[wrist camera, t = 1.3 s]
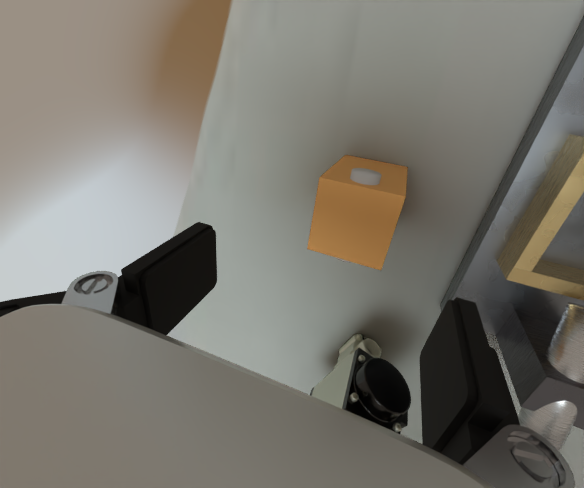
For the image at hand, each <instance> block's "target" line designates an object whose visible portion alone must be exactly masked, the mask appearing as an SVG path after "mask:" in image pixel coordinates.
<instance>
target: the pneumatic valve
mask: <svg viewBox="0 0 584 488" xmlns="http://www.w3.org/2000/svg"><path fill="white" fill-rule="evenodd" d="M362 338H363V337H362V335H361V334H355V335H354V336H353V337H352V338H351V339H350V340H348V341H347V342H346V343H345V344H344V345H343V346H342V347H341V348H340V349H339V354H340V356H339V357H338V362H337V364H336V365H335V366H334V370H333V371H332V372H331V373H329V374H328V375H327V376H326V377H325V378H324V379H323V380H322V381H320V382H319V383H318V384H317V385H316V386H315V387H314V388H313V389H312V390H311V393H310V396H313V397H315V398H317V399H320V400H322V401H325V402H327V403H329V404H332V405H334V406H336V407H339V408H341V409H343V410H346V411H348V412H350V413H353V414H355V415H358V416H360V417H362V418H365V419H367V420H369V421H371V422H374V423H376V424H378V425H380V426H383V427H385V428H387V429H389V430H392V431H394V432H396V433H398V434H400V431H401V428H403V427H405V426H407V421H408V409H409V407H410V404H411V396H410V391H409V388H408V385H407V383H406V381H405V379H404V378H403V376H402V375H401V373H400V372H399V371H398V370H397V369H396V368H395V367H394V366H393V365H392V364H391V363H389V362H388V361H386V360H384V359H381V358H379V357H380V356H381V352H382V350H381V348H380V347H379V346H378V344H377V343H376V342H375V341H373V340H372V339H369V338H367V339H365V340H363V339H362Z"/></svg>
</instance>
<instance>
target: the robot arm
mask: <svg viewBox="0 0 584 488" xmlns="http://www.w3.org/2000/svg"><path fill="white" fill-rule="evenodd" d="M121 272H122V275H121V276H120V277H117V275H116V274H114V273H112V272H107V271H97V272H91V273H88V274H85V275H82V276H80V277H79V278H77V279H75V280H74V281H73V282H72V283H71V284H70V286H69V288H68V290H67V291H64V292H57V293H51V294H44V295H38V296H32V297H25V298H19V299H13V300H9V301H3V302H0V488H574V486H575V482H574V476H573V473H572V471H571V469H570V467H569V465H568V463H567V462H566V460H565V459H564V458H563V456H562V455H561V454H560V452H559V451H558V450H557V449H556V448H555V447H554V446H553V445H552V444H551V443H550V442H549V441H547V440H546V439H545V438H543V437H542V436H541V435H540V434H538V433H536V432H534V431H533V430H531V429H529V428H527V427H523V426H521V425H520V422H519V419H518V416H517V413H516V410H515V407H514V404H513V401H512V398H511V395H510V392H509V389H508V386H507V383H506V380H505V377H504V374H503V371H502V368H501V365H500V362H499V359H498V355H497V353H496V351H495V350H494V349H493V348H491V347H489V344H488V341H487V337H486V334H485V331H484V328H483V324H482V321H481V318H480V315H479V311H478V308H477V305H476V303H475V302H472V301H468V300H465V299H462V298H458V297H457V298H455V299H454V300H450V299H449V300H448V301H447V303H446V305H445V306H444V308H443V310H442V312H441V314H440V316H439V318H438V320H437V322H436V324H435V326H434V328H433V330H432V332H431V334H430V336H429V337H428V339H427V341H426V343H425V345H424V347H423V349H422V351H421V355H420V381H421V409H422V437H423V445H422V444H420V443H418V442H416V441H414V440H412V439H410V438H407V437H405V436H403V435H401V434H398V433H396V432H394V431H392V430H389V429H387V428H385V427H383V426H380V425H378V424H376V423H374V422H371V421H369V420H367V419H365V418H362V417H360V416H358V415H355V414H353V413H350V412H348V411H346V410H343V409H341V408H339V407H336V406H334V405H332V404H329V403H327V402H325V401H322V400H320V399H317V398H315V397H313V396H310V395H308V394H306V393H303V392H301V391H299V390H296V389H294V388H292V387H289V386H287V385H284V384H282V383H280V382H277V381H275V380H272V379H270V378H268V377H265V376H263V375H261V374H258V373H256V372H253V371H251V370H249V369H246V368H244V367H241V366H239V365H237V364H234V363H232V362H229V361H227V360H225V359H222V358H220V357H217V356H215V355H213V354H210V353H208V352H205V351H203V350H200V349H198V348H196V347H193V346H191V345H188V344H186V343H183V342H181V341H178V340H176V339H174V338H171V337H169V336H166V335H167V334H168V333H169V332H170V331H171V330H172V329H173V328H174V327H175V326H176V325H177V324H178V323H179V322H180V321H181V320H182V319H183V318H184V317H185V316H186V315H187V314H188V313H189V312H190V311H191V310H192V309H193V308H194V307H195V306H196V305H197V304H198V303H199V302H200V301H201V300H202V299H203V298H204V297H205V296H206V295H207V294H208V293H209V292H210V291H211V290H212V289H213V288H214V287H215V285H216V282H217V264H216V232H215V230H213V228H212V226H211V225H207V224H204V223H201V222H198V223H196V224H194V225H192V226H191V227H189V228H187V229H186V230H184V231H183V232H181V233H179V234H178V235H176V236H175V237H173V238H171V239H170V240H168V241H166V242H165V243H163V244H162V245H160V246H159V247H157V248H155V249H154V250H152V251H150V252H149V253H147V254H145V255H144V256H142V257H141V258H139V259H137V260H136V261H134V262H133V263H131V264H129V265H128V266H126V267H124V268H123V269H122V270H121Z"/></svg>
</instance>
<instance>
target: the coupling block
mask: <svg viewBox="0 0 584 488" xmlns="http://www.w3.org/2000/svg"><path fill="white" fill-rule="evenodd" d="M407 169H408V167H405V166H400V165H395V164H390V163H385V162H380V161H375V160H370V159H364V158H359V157H354V156H349V155H345V156H343V157H342V158H341V159H340V160H339V161H338V162H337V163H335V164H334V165H333V166H332V167H331V168H330V169H329V170H327V171H326V172H325V173H324V174H323V175H322V176H320V177H319V183H318V189H317V195H316V201H315V207H314V213H313V218H312V224H311V230H310V236H309V242H308V248H307V249H309V250H313V251H316V252H320V253H323V254H326V255H330V256H333V257H336V258H337V259H339V260H341V261H344V262H354V263H357V264H361V265H364V266H367V267H371V268H374V269H378V270H381V269H382V266H383V263H384V260H385V257H386V254H387V251H388V248H389V245H390V242H391V239H392V236H393V233H394V230H395V227H396V225H397V222H398V219H399V216H400V213H401V210H402V207H403V204H404V201H405V198H406V185H407Z"/></svg>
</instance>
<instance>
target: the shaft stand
mask: <svg viewBox="0 0 584 488" xmlns="http://www.w3.org/2000/svg"><path fill="white" fill-rule="evenodd" d="M457 297H458V298H462V299H465V300H468V301H472V302H475V303H476V305H477V308H478V311H479V315H480V318H481V321H482V324H483V328H484V331H485V333H489V334H492V335H495V336H496V337H497V340H498V343H499V346H500V349H501V352H502V354H503V357H504V360H505V363H506V366H507V369H508V372H509V374H510V377H511V380H512V383H513V386H514V389H515V391H516V394H517V397H518V400H519V403H520V406H521V407H522V408H521V410H520V413H519V415H518V419H519V422H520V425H521V426H523V427H527V428H529V429H531V430H533V431H534V432H536V433H538V434H540V435H541V436H542V437H543V438H545V439H546V440H547V441H549V442H550V443H551V444H552V445H553V446H554V447H555V448H556V449H557V450H558V451H559V452H560V451H561V449H562V447H563V445H564V443H565V441H566V439H567V437H568V435H569V433H570V431H571V429H572V427H573V426H575V427H578V428H581V429H583V430H584V17H583V19H582V21H581V23H580V25H579V27H578V29H577V31H576V33H575V35H574V37H573V39H572V41H571V43H570V45H569V47H568V49H567V51H566V53H565V55H564V57H563V59H562V61H561V63H560V65H559V67H558V69H557V71H556V73H555V75H554V77H553V79H552V81H551V83H550V85H549V87H548V89H547V91H546V93H545V95H544V97H543V99H542V101H541V103H540V105H539V107H538V109H537V111H536V113H535V115H534V117H533V119H532V122H531V124H530V126H529V128H528V130H527V132H526V134H525V136H524V138H523V140H522V142H521V144H520V146H519V148H518V150H517V152H516V154H515V156H514V158H513V160H512V162H511V164H510V166H509V168H508V170H507V172H506V174H505V176H504V178H503V180H502V182H501V184H500V186H499V188H498V190H497V192H496V194H495V196H494V198H493V200H492V202H491V204H490V206H489V208H488V210H487V212H486V214H485V216H484V218H483V220H482V222H481V224H480V226H479V228H478V230H477V232H476V234H475V236H474V238H473V240H472V242H471V244H470V246H469V248H468V250H467V252H466V254H465V256H464V258H463V260H462V262H461V264H460V266H459V268H458V270H457V272H456V274H455V276H454V278H453V280H452V283H451V285H450V287H449V289H448V291H447V293H446V295H445V297H444V299H443V301H442V303H441V305H440V306H441V312H442V310H443V308H444V306H445V305H446V303H447V301H448V300H449V299H450V300H454V299H455V298H457Z"/></svg>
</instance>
